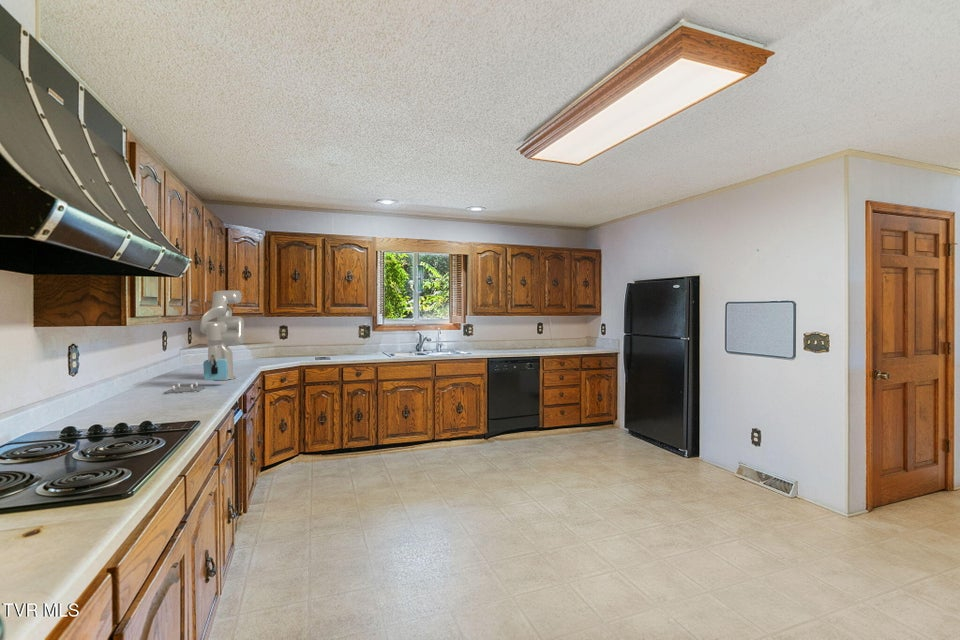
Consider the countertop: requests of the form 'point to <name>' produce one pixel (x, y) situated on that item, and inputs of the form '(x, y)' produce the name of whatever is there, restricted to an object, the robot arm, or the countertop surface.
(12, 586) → the countertop surface
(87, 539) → the countertop surface
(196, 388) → the pin tray
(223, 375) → the light blue rounded slab
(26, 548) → the countertop surface
